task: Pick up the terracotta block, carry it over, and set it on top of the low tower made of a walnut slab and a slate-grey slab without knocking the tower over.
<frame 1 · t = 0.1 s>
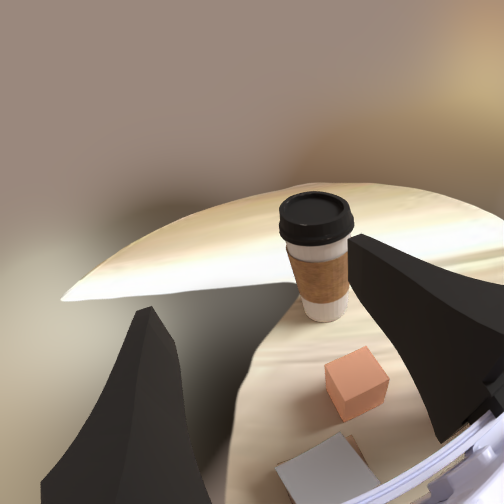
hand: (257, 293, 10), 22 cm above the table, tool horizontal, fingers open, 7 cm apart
tower middle: (327, 482, 18), point 2 cm above the table
coffee cup: (326, 307, 39), on the table
terracotta block: (354, 397, 26), on the table
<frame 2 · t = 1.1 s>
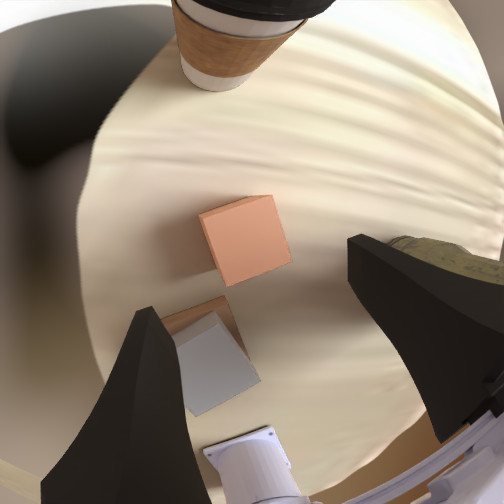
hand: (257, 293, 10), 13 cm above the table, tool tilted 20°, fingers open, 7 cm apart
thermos: (400, 275, 28), on the table
tower middle: (202, 358, 22), point 2 cm above the table, touching tower base
tower base: (199, 343, 24), on the table, touching tower middle
coffee cup: (217, 62, 20), on the table
terracotta block: (234, 232, 23), on the table
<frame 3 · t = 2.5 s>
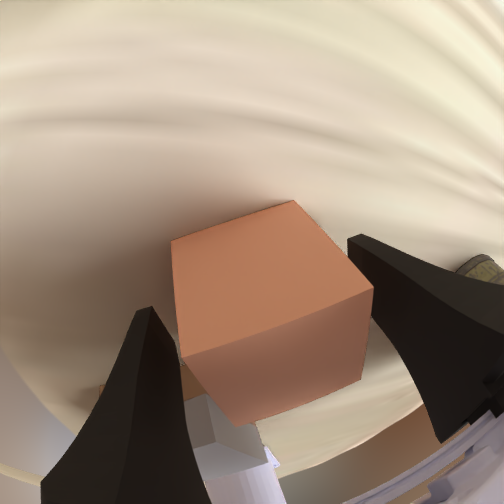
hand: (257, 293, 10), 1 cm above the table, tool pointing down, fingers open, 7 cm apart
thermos: (457, 298, 19), on the table
tower middle: (187, 430, 14), point 2 cm above the table, touching tower base
tower base: (180, 395, 16), on the table, touching tower middle
terracotta block: (247, 268, 11), on the table
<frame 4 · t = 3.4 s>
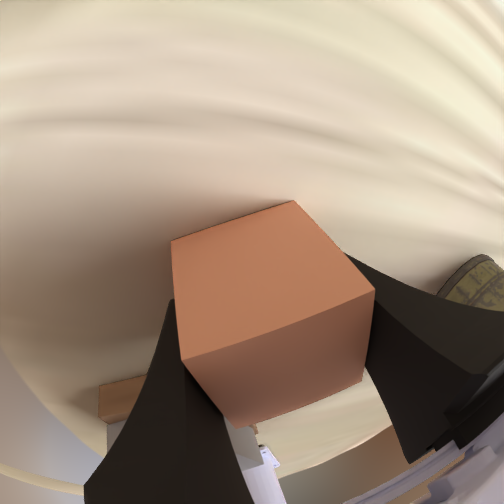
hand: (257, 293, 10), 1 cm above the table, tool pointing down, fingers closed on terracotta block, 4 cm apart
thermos: (457, 298, 19), on the table
tower middle: (183, 431, 14), point 2 cm above the table
tower base: (180, 395, 16), on the table
terracotta block: (247, 269, 11), on the table, touching gripper
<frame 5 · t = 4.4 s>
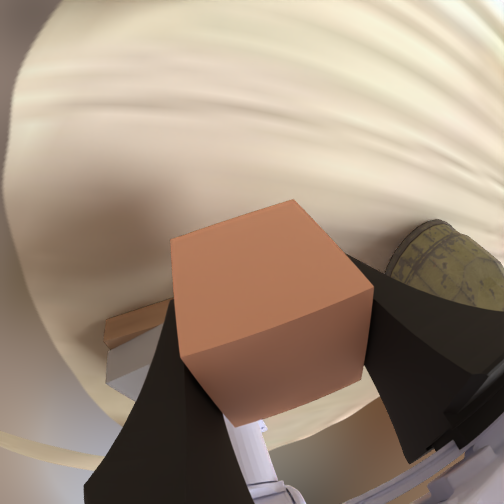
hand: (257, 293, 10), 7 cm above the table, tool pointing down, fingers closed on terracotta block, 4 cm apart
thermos: (419, 261, 23), on the table
tower middle: (171, 358, 18), point 2 cm above the table, touching tower base
tower base: (173, 332, 20), on the table, touching tower middle
terracotta block: (247, 268, 11), point 5 cm above the table, touching gripper
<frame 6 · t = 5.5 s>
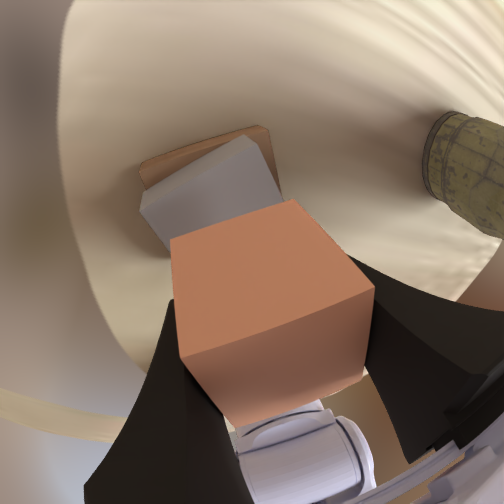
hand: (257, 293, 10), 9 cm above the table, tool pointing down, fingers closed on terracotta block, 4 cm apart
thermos: (450, 155, 21), on the table
tower middle: (218, 207, 16), point 2 cm above the table, touching tower base
tower base: (214, 192, 18), on the table, touching tower middle
terracotta block: (247, 268, 11), point 8 cm above the table, touching gripper
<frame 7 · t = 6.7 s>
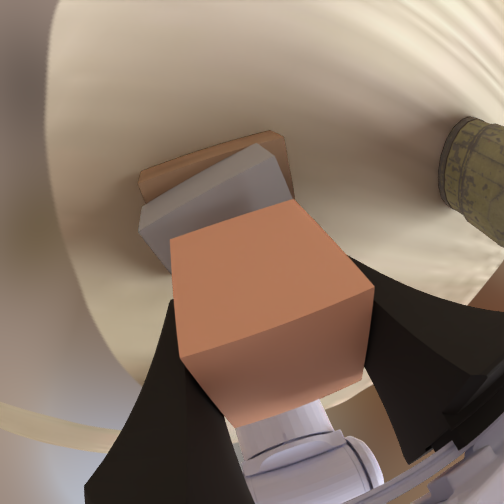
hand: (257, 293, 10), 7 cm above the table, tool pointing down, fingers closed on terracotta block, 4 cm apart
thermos: (466, 162, 19), on the table
tower middle: (226, 223, 15), point 2 cm above the table, touching tower base
tower base: (221, 203, 17), on the table, touching tower middle
terracotta block: (246, 268, 11), point 6 cm above the table, touching gripper
when the fingers open (7 cm above the table, at t = 6.7 s): terracotta block drops 1 cm, resting on tower middle.
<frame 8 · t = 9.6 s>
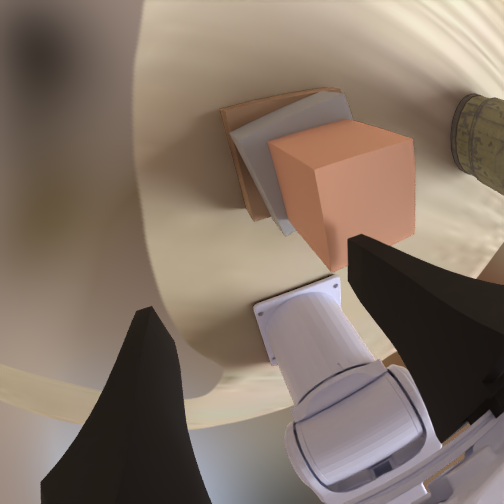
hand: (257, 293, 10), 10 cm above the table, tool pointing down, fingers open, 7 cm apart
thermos: (472, 132, 21), on the table
tower middle: (296, 154, 17), point 2 cm above the table, touching terracotta block
tower base: (282, 145, 19), on the table
terracotta block: (317, 169, 15), point 5 cm above the table, touching tower middle
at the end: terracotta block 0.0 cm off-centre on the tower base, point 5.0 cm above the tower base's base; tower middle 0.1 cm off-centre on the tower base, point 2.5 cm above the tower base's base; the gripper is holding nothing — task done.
